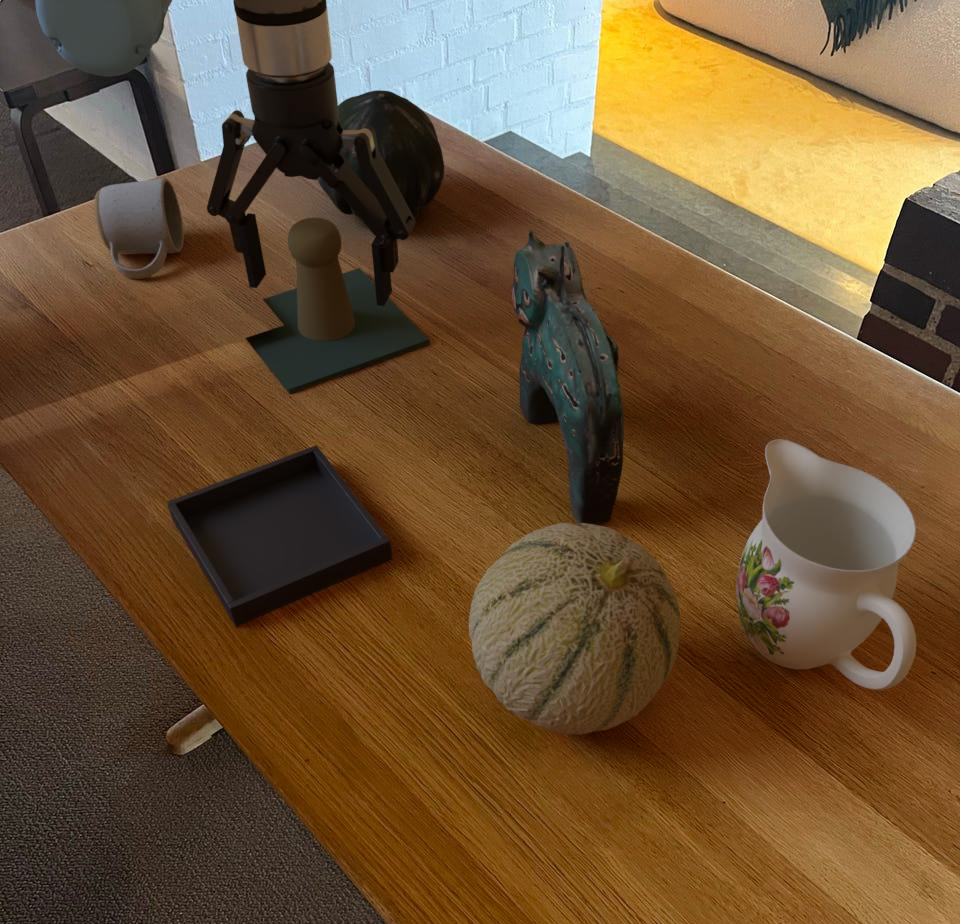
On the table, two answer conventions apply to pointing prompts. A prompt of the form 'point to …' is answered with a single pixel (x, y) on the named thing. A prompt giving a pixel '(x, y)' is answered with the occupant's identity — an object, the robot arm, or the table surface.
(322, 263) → the wooden peg doll
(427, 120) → the squash
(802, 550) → the pitcher
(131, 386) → the table surface
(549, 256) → the ceramic cat
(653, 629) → the cantaloupe
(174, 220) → the ceramic mug
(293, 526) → the tray
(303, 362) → the mat
